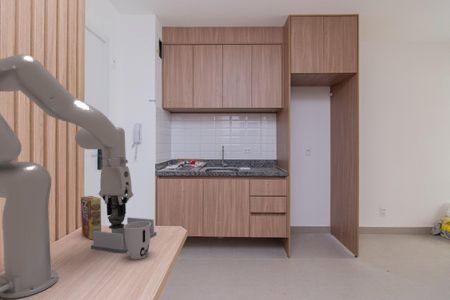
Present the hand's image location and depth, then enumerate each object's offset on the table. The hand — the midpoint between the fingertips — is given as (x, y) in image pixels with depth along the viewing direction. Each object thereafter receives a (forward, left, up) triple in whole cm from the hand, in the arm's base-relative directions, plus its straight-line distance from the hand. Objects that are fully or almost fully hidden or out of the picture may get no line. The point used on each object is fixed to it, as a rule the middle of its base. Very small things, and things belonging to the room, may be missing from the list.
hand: (116, 214), depth 95 cm
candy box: (+5, +17, -11) cm, 21 cm away
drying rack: (+4, 0, -11) cm, 12 cm away
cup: (-5, -13, -11) cm, 18 cm away
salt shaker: (0, 0, -4) cm, 4 cm away
